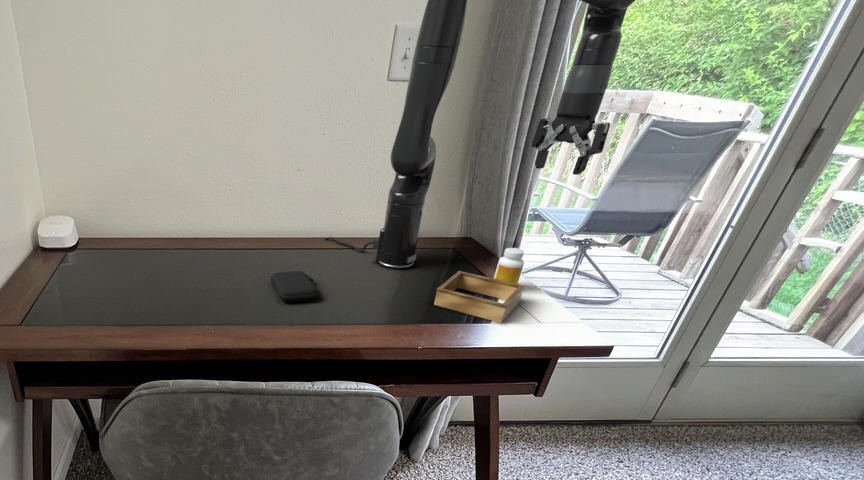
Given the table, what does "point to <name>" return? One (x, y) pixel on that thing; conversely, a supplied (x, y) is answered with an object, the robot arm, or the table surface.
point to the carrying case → (294, 286)
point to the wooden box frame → (475, 304)
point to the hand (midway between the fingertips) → (557, 171)
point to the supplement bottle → (510, 266)
